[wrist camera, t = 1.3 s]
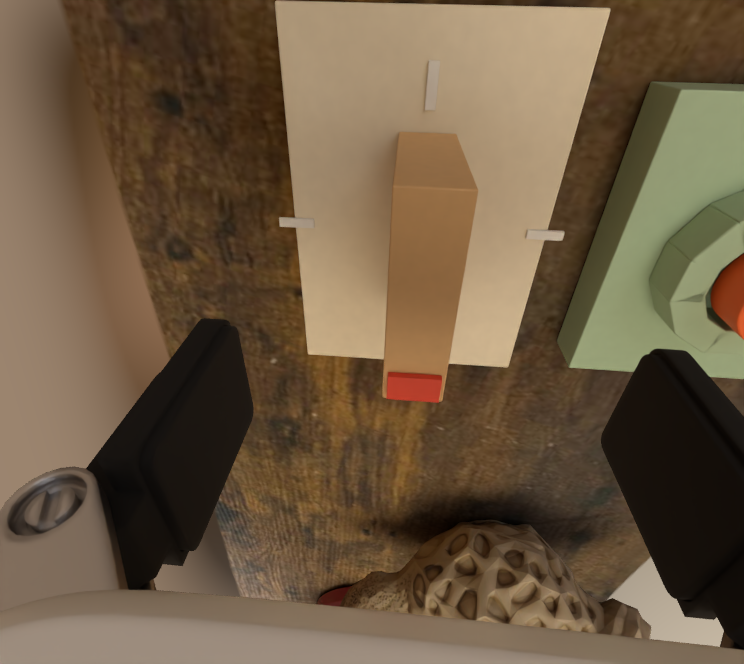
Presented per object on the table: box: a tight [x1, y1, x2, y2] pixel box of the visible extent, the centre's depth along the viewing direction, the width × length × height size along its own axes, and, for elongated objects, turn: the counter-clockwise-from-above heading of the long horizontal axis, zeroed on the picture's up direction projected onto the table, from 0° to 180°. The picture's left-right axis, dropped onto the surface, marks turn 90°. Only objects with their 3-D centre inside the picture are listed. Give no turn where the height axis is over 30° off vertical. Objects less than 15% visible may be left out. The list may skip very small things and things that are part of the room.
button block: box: [557, 82, 744, 379], centre depth 17 cm, size 12×10×4 cm
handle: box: [382, 132, 478, 403], centre depth 14 cm, size 7×2×6 cm, turn 179°
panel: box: [275, 1, 610, 367], centre depth 17 cm, size 14×11×3 cm
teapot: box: [339, 520, 651, 639], centre depth 28 cm, size 21×12×15 cm, turn 94°
